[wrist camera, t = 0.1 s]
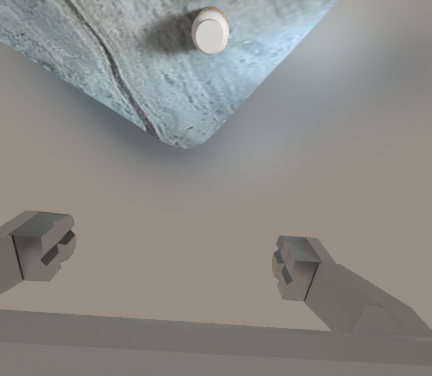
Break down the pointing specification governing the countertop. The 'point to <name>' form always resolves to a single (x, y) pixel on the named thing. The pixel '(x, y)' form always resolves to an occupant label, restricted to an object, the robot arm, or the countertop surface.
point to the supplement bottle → (210, 31)
